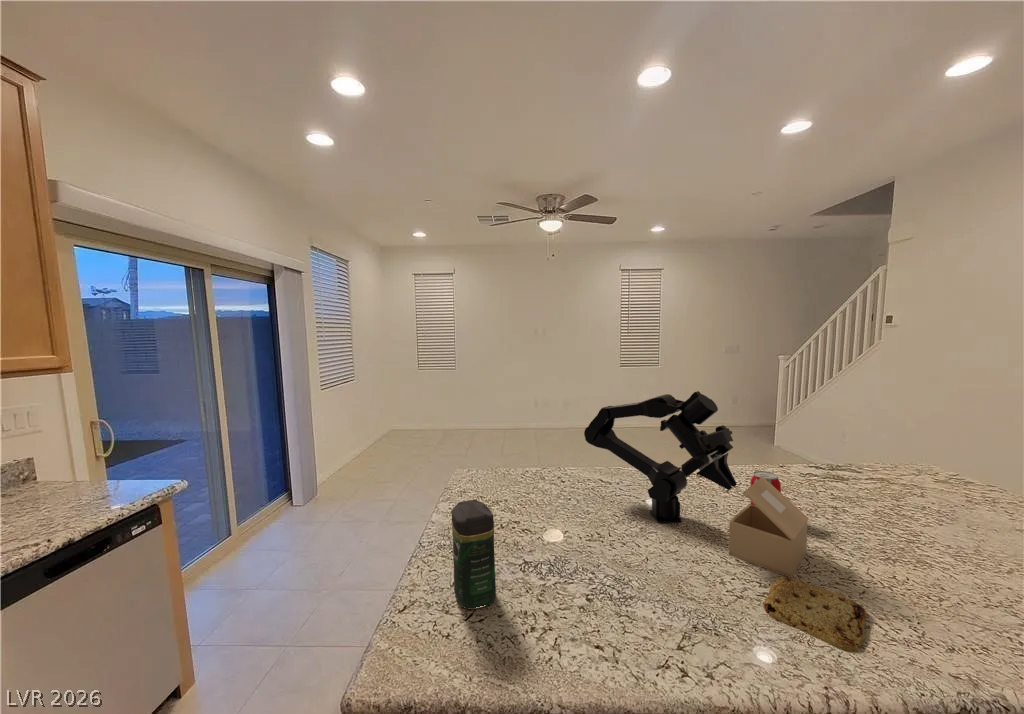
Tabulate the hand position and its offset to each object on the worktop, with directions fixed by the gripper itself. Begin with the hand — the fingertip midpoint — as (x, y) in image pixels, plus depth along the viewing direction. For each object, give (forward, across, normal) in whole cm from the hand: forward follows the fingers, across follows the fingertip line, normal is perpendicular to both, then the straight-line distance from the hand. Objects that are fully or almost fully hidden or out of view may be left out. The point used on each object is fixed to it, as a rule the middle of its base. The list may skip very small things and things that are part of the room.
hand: (733, 487), depth 96 cm
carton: (+15, 0, +4) cm, 16 cm away
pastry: (+24, -15, -4) cm, 29 cm away
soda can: (+11, +19, +9) cm, 24 cm away
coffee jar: (-10, -58, +30) cm, 66 cm away
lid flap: (+8, 0, -5) cm, 9 cm away
